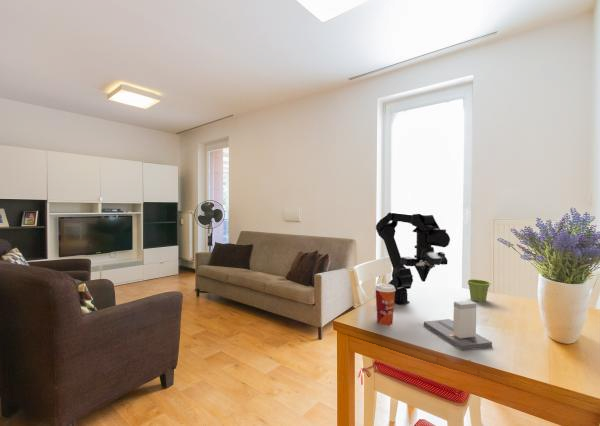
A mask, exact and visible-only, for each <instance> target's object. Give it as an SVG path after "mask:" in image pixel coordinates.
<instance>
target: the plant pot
mask: <svg viewBox="0 0 600 426" xmlns="http://www.w3.org/2000/svg"><path fill="white" fill-rule="evenodd" d="M466 281H467V285H468V288H469V295H470V300H472V301H475V302H477V303H479V302H480V303H484V302H486V301H487V296H488V291H489V287H490V285H491V282H490V281H487V280H484V279H483V280H482V279H475V278H474V279H470V278H469V279H467V280H466Z"/></svg>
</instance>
